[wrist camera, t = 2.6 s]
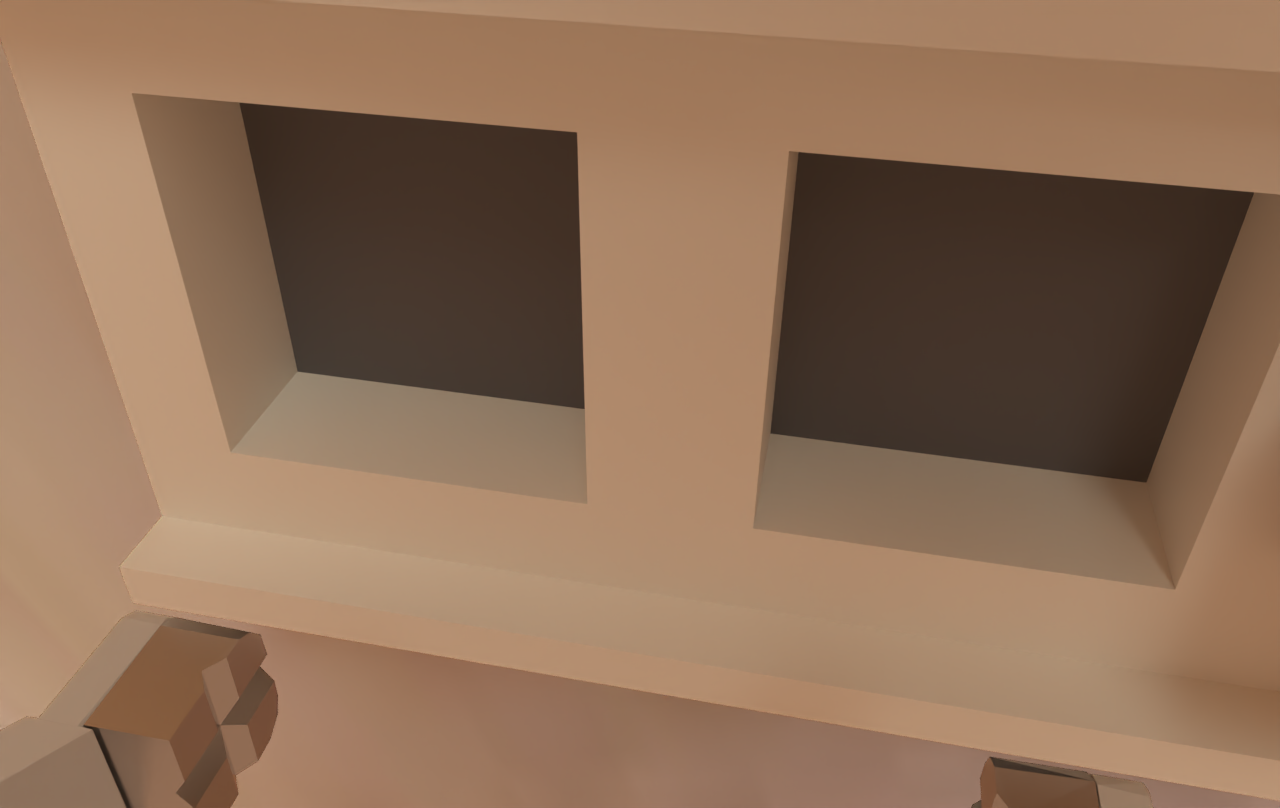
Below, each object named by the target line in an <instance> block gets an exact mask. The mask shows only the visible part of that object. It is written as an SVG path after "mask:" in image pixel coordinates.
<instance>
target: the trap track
mask: <svg viewBox="0 0 1280 808" xmlns="http://www.w3.org/2000/svg"><path fill="white" fill-rule="evenodd" d="M0 40H1V43H2V45H3V48H4V51H5V54H6V57H7V60H8V63H9V66H10V69H11V72H12V75H13V78H14V81H15V84H16V87H17V90H18V93H19V96H20V99H21V102H22V105H23V107H24V110H25V113H26V116H27V119H28V122H29V125H30V128H31V131H32V134H33V137H34V140H35V143H36V146H37V149H38V152H39V155H40V158H41V161H42V164H43V167H44V169H45V172H46V175H47V178H48V181H49V184H50V187H51V190H52V193H53V196H54V199H55V202H56V205H57V208H58V211H59V214H60V217H61V220H62V223H63V226H64V229H65V231H66V234H67V237H68V240H69V243H70V246H71V249H72V252H73V255H74V258H75V261H76V264H77V267H78V270H79V273H80V276H81V279H82V282H83V285H84V288H85V291H86V293H87V296H88V299H89V302H90V305H91V308H92V311H93V314H94V317H95V320H96V323H97V326H98V329H99V332H100V335H101V338H102V341H103V344H104V347H105V350H106V353H107V356H108V358H109V361H110V364H111V367H112V370H113V373H114V376H115V379H116V382H117V385H118V388H119V391H120V394H121V397H122V400H123V403H124V406H125V409H126V412H127V415H128V418H129V420H130V423H131V426H132V429H133V432H134V435H135V438H136V441H137V444H138V447H139V450H140V453H141V456H142V459H143V462H144V465H145V468H146V471H147V474H148V477H149V480H150V482H151V485H152V488H153V491H154V494H155V497H156V500H157V503H158V506H159V509H160V512H161V515H162V516H161V518H160V519H159V520H158V521H157V522H156V524H155V525H154V526H153V527H152V528H151V529H150V531H149V532H148V533H147V534H146V535H145V537H144V538H143V539H142V540H141V541H140V542H139V544H138V545H137V546H136V547H135V548H134V550H133V551H132V552H131V553H130V554H129V555H128V557H127V558H126V559H125V560H124V561H123V563H122V564H121V565H120V566H119V569H120V572H121V574H122V577H123V579H124V582H125V585H126V587H127V590H128V592H129V595H130V598H131V600H132V603H135V604H140V605H146V606H152V607H158V608H164V609H169V610H175V611H181V612H187V613H193V614H198V615H204V616H210V617H216V618H222V619H227V620H233V621H239V622H245V623H251V624H256V625H262V626H268V627H274V628H280V629H285V630H291V631H297V632H303V633H309V634H314V635H320V636H326V637H332V638H337V639H343V640H349V641H355V642H361V643H366V644H372V645H378V646H384V647H390V648H395V649H401V650H407V651H413V652H419V653H424V654H430V655H436V656H442V657H448V658H453V659H459V660H465V661H471V662H477V663H482V664H488V665H494V666H500V667H506V668H511V669H517V670H523V671H529V672H535V673H540V674H546V675H552V676H558V677H564V678H569V679H575V680H581V681H587V682H593V683H598V684H604V685H610V686H616V687H622V688H627V689H633V690H639V691H645V692H650V693H656V694H662V695H668V696H674V697H679V698H685V699H691V700H697V701H703V702H708V703H714V704H720V705H726V706H732V707H737V708H743V709H749V710H755V711H761V712H766V713H772V714H778V715H784V716H790V717H795V718H801V719H807V720H813V721H819V722H824V723H830V724H836V725H842V726H848V727H853V728H859V729H865V730H871V731H877V732H882V733H888V734H894V735H900V736H906V737H911V738H917V739H923V740H929V741H935V742H940V743H946V744H952V745H958V746H963V747H969V748H975V749H981V750H987V751H992V752H998V753H1004V754H1010V755H1016V756H1021V757H1027V758H1033V759H1039V760H1045V761H1050V762H1056V763H1062V764H1068V765H1074V766H1079V767H1085V768H1091V769H1097V770H1103V771H1108V772H1114V773H1120V774H1126V775H1132V776H1137V777H1143V778H1149V779H1155V780H1161V781H1166V782H1172V783H1178V784H1184V785H1190V786H1195V787H1201V788H1207V789H1213V790H1219V791H1224V792H1230V793H1236V794H1242V795H1247V796H1253V797H1259V798H1265V799H1271V800H1276V801H1280V0H0Z"/></svg>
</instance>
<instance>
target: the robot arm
mask: <svg viewBox="0 0 1280 808" xmlns="http://www.w3.org/2000/svg"><path fill="white" fill-rule="evenodd" d="M266 655H267V653H266V650H265V647H264V644H263V641H262V638H261V635H260V634H255V633H251V632H246V631H241V630H236V629H231V628H226V627H221V626H216V625H211V624H206V623H201V622H196V621H191V620H186V619H181V618H176V617H170V616H165V615H159V614H154V613H148V612H143V611H137V610H135V611H133V612H132V613H130V614H128V615H126V616H125V617H123V618H121V619H120V620H119V621H118V623H117V624H116V625H115V626H114V627H113V629H112V630H111V631H110V632H109V633H108V635H107V636H106V637H105V638H104V639H103V641H102V642H101V643H100V644H99V646H98V647H97V648H96V649H95V650H94V652H93V653H92V654H91V655H90V656H89V658H88V659H87V660H86V661H85V662H84V664H83V665H82V666H81V667H80V668H79V670H78V671H77V672H76V673H75V674H74V676H73V677H72V678H71V679H70V680H69V682H68V683H67V684H66V685H65V686H64V688H63V689H62V690H61V691H60V692H59V694H58V695H57V696H56V697H55V698H54V700H53V701H52V702H51V703H50V704H49V706H48V707H47V708H46V709H45V710H44V712H43V713H42V714H41V715H40V717H39V718H34V717H28V716H26V717H24V718H22V719H21V720H19V721H17V722H15V723H13V724H11V725H9V726H7V727H5V728H3V729H2V730H0V808H230V807H231V806H232V804H233V802H234V801H235V799H236V797H237V796H238V787H237V780H236V775H237V774H238V773H240V772H241V771H243V770H245V769H246V768H248V767H249V766H251V765H253V764H254V763H256V762H257V761H258V760H259V758H260V757H261V755H262V753H263V751H264V750H265V748H266V746H267V744H268V743H269V741H270V739H271V735H272V732H273V728H274V725H275V722H276V718H277V715H278V694H277V690H276V686H275V682H274V680H273V679H272V678H271V677H270V676H269V675H268V674H267V673H266V672H265V671H264V670H263V669H262V668H261V667H260V665H261V663H262V662H263V660H264V659H265V657H266ZM980 787H981V800H980V801H978V802H977V803H975V804H973V805H972V807H971V808H1153V805H1152V800H1151V796H1150V792H1149V791H1148V789H1147V788H1146V786H1145V785H1144V783H1142V782H1137V781H1131V780H1125V779H1119V778H1113V777H1107V776H1101V775H1095V774H1088V773H1087V772H1084V771H1078V770H1071V769H1065V768H1059V767H1052V766H1046V765H1039V764H1033V763H1027V762H1020V761H1014V760H1008V759H1001V758H995V757H989V758H988V760H987V761H986V762H985V765H984V768H983V771H982V774H981V777H980Z"/></svg>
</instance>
